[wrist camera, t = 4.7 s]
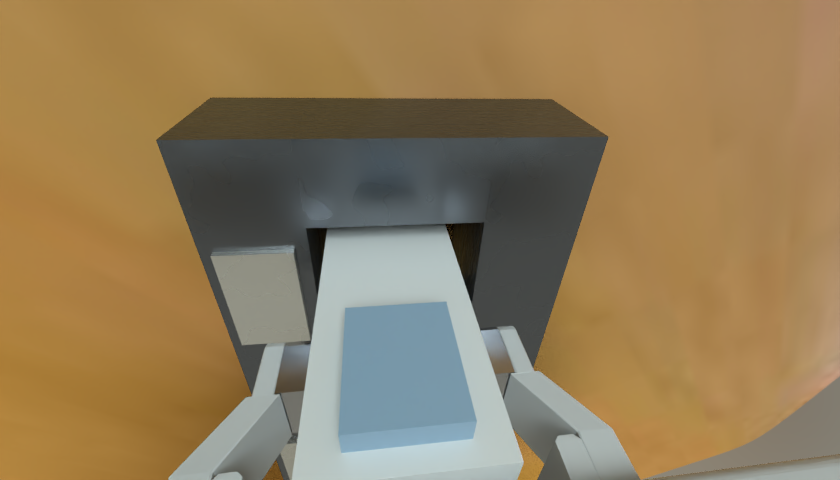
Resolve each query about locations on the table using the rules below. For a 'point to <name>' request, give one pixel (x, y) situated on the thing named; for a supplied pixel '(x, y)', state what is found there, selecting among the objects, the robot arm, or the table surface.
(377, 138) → the panel
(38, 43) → the table surface
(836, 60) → the table surface
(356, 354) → the plug
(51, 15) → the table surface
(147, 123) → the table surface
